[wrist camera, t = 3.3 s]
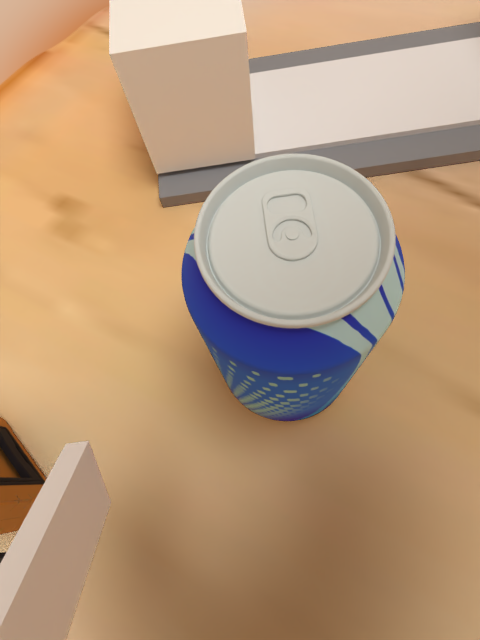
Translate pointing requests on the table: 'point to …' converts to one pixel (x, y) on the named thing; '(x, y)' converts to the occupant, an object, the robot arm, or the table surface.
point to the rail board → (289, 96)
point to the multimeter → (16, 481)
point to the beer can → (292, 280)
